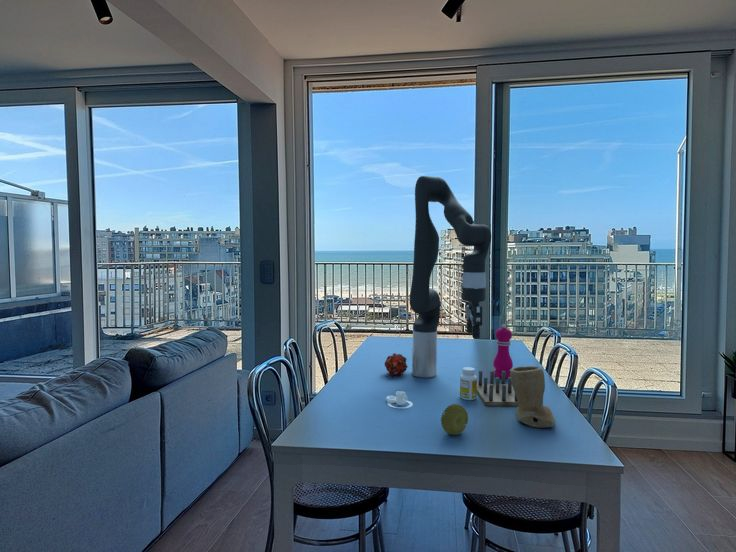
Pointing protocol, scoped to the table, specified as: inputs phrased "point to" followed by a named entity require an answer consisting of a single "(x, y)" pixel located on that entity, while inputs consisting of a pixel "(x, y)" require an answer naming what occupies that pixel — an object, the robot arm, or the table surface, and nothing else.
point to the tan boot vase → (531, 396)
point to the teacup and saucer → (398, 400)
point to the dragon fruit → (396, 364)
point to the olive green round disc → (454, 419)
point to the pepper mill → (503, 352)
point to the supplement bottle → (468, 384)
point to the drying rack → (496, 391)
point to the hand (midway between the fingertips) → (473, 335)
